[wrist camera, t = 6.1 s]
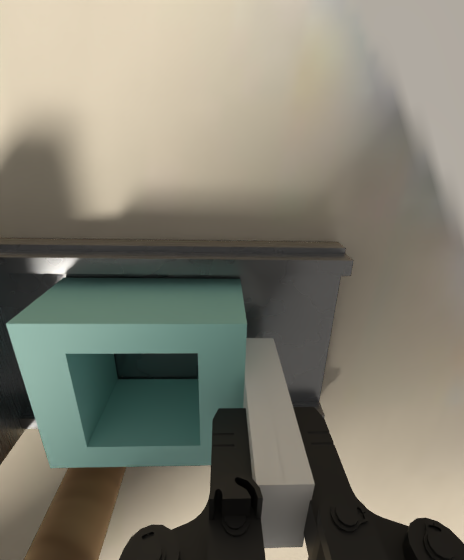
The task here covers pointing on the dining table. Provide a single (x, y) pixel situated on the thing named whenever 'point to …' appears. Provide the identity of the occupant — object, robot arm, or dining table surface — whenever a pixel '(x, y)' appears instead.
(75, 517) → the dowel
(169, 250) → the rail base
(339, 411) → the dining table surface
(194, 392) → the block
